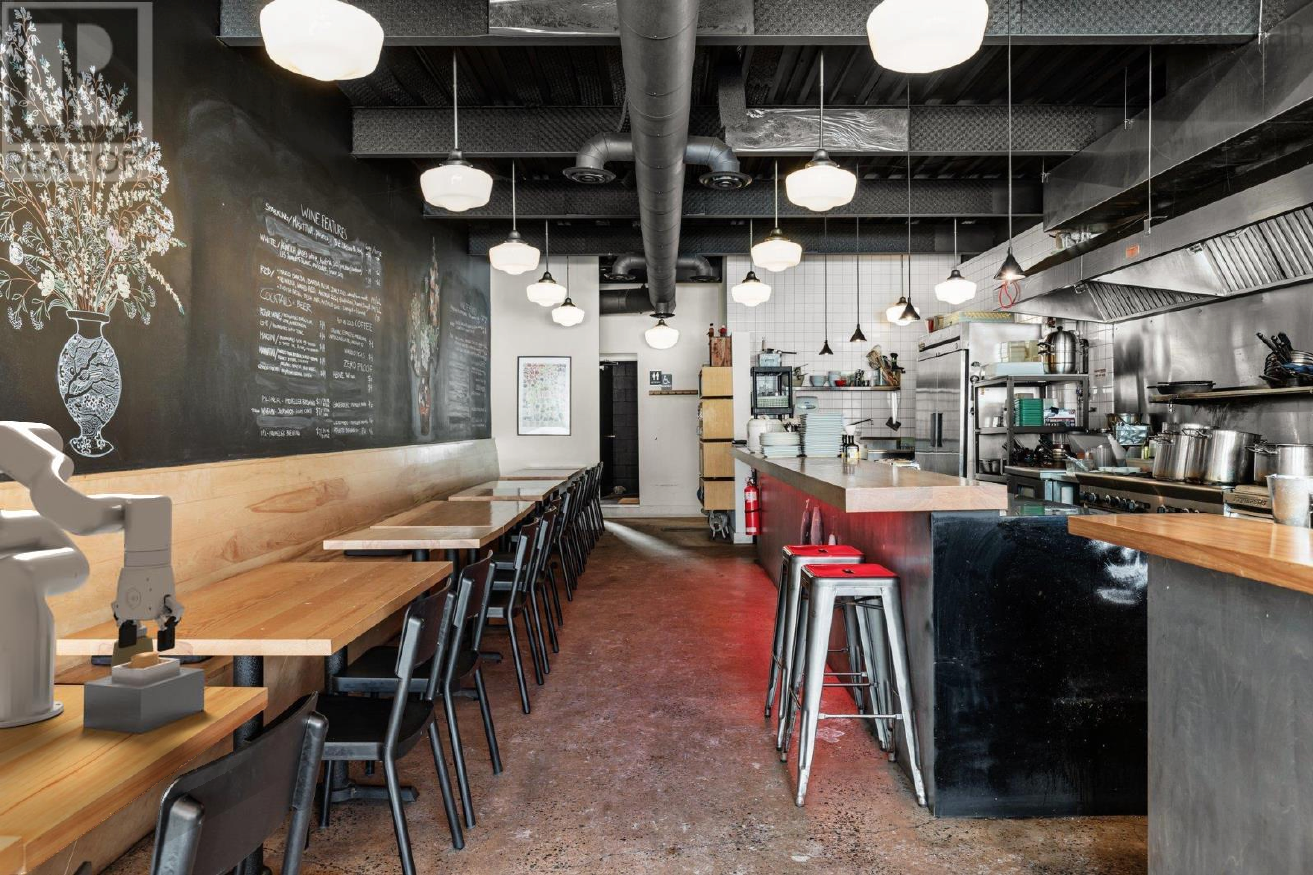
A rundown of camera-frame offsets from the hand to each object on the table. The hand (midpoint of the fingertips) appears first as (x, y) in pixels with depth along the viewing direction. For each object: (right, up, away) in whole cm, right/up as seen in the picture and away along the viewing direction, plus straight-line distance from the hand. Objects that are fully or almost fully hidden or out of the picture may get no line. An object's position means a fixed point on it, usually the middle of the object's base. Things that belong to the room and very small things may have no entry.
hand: (146, 648), depth 138 cm
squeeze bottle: (-12, -14, +12) cm, 22 cm away
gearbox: (0, -13, 0) cm, 13 cm away
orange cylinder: (0, -10, 0) cm, 10 cm away
